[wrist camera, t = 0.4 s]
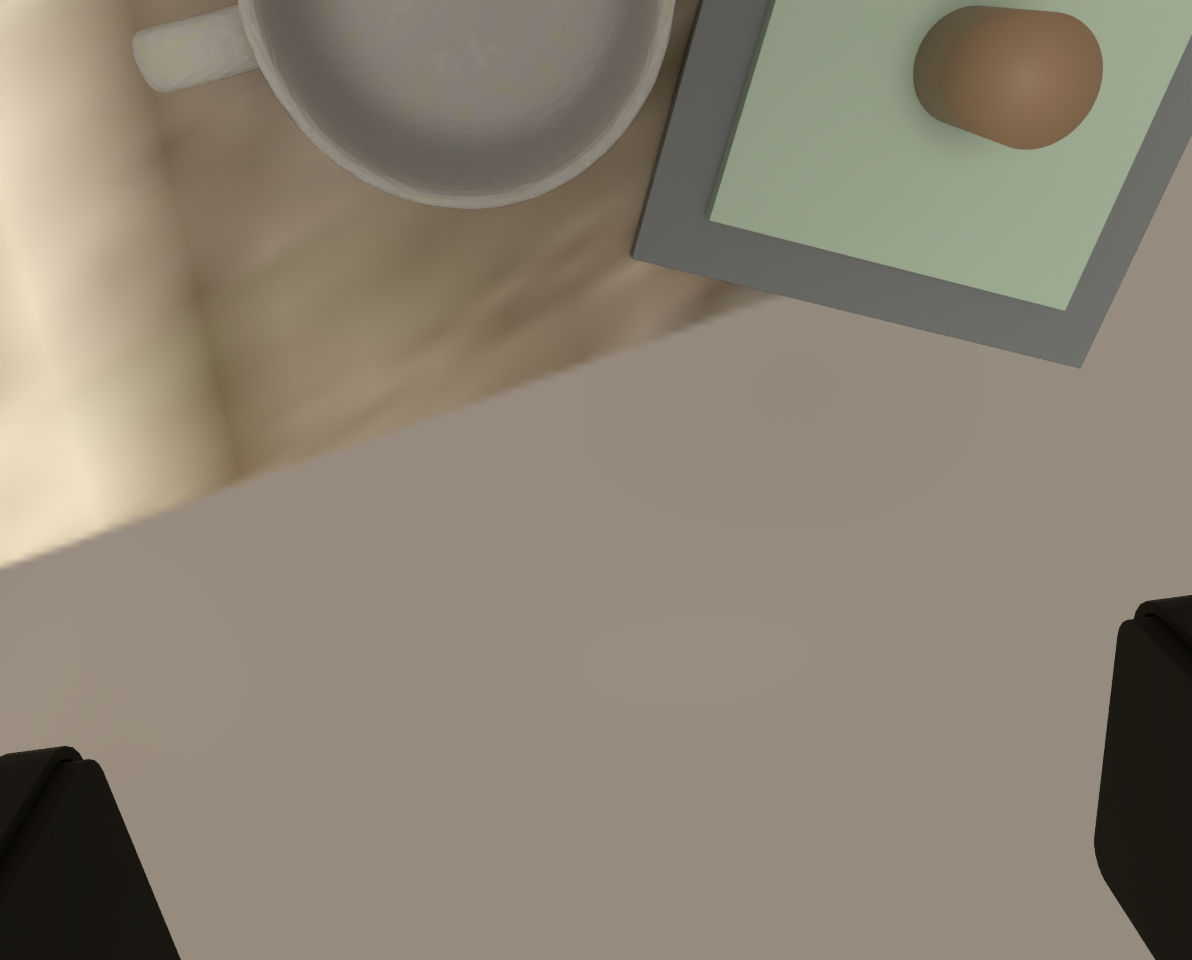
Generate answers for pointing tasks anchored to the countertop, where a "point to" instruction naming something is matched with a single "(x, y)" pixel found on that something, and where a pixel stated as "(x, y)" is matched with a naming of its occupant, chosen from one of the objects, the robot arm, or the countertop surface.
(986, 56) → the lid
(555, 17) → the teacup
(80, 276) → the countertop surface
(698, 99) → the mat
